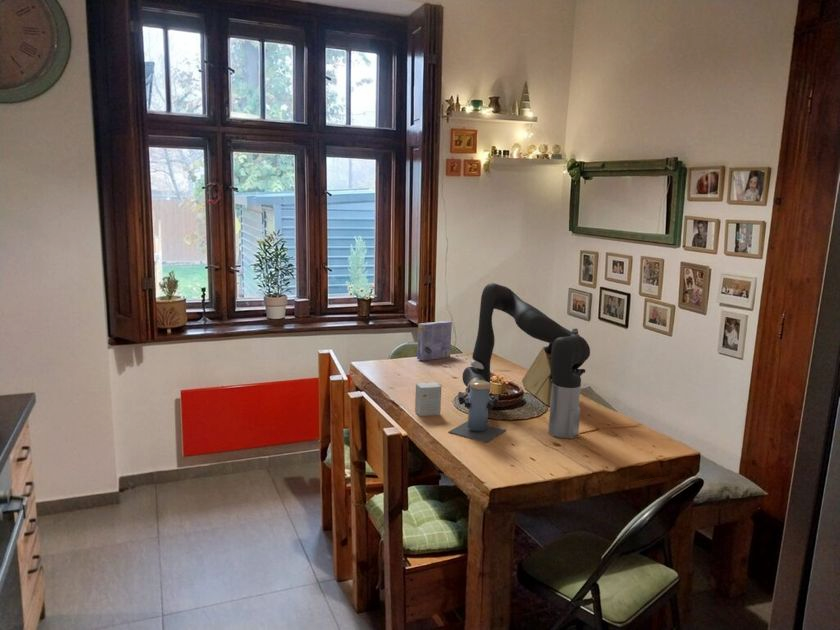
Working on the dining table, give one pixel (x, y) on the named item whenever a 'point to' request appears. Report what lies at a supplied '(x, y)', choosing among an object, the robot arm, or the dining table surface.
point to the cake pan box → (434, 340)
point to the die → (476, 364)
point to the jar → (478, 405)
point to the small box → (428, 399)
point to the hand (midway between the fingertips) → (479, 406)
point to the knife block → (544, 374)
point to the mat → (477, 432)
